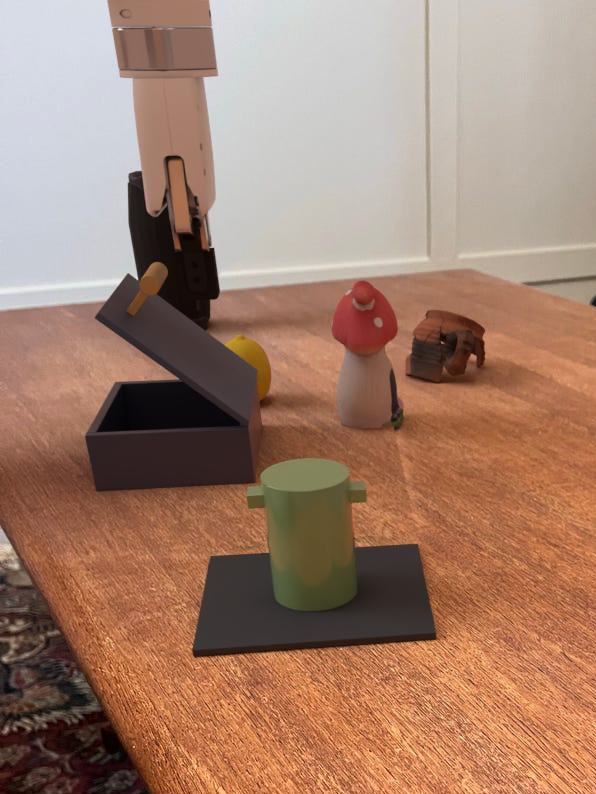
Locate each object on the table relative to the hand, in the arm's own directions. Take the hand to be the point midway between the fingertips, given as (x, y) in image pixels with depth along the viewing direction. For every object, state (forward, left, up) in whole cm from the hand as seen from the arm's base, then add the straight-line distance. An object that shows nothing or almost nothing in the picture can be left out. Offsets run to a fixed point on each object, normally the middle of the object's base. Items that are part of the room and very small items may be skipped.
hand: (201, 297), depth 88 cm
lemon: (+2, +15, -15) cm, 22 cm away
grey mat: (+9, -29, -15) cm, 33 cm away
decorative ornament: (+15, +8, -15) cm, 23 cm away
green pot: (+9, -29, -15) cm, 33 cm away
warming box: (-3, 0, -15) cm, 16 cm away
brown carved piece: (+24, +25, -15) cm, 39 cm away
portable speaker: (-9, +52, -15) cm, 56 cm away
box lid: (-2, 0, -4) cm, 5 cm away
